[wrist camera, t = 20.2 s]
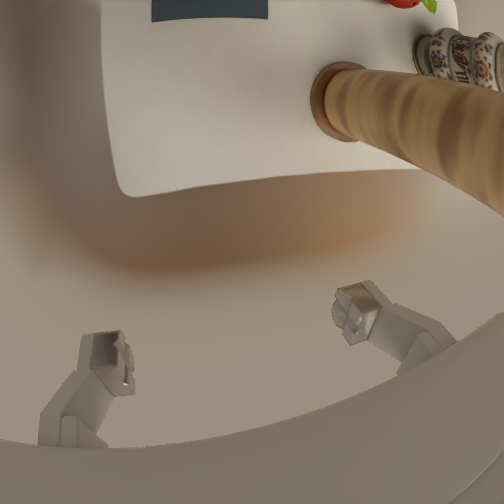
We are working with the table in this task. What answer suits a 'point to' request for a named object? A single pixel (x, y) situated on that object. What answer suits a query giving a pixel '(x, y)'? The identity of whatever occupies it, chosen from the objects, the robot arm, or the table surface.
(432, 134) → the towel stand
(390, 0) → the apple
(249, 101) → the table surface
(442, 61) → the apothecary jar
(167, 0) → the mat
